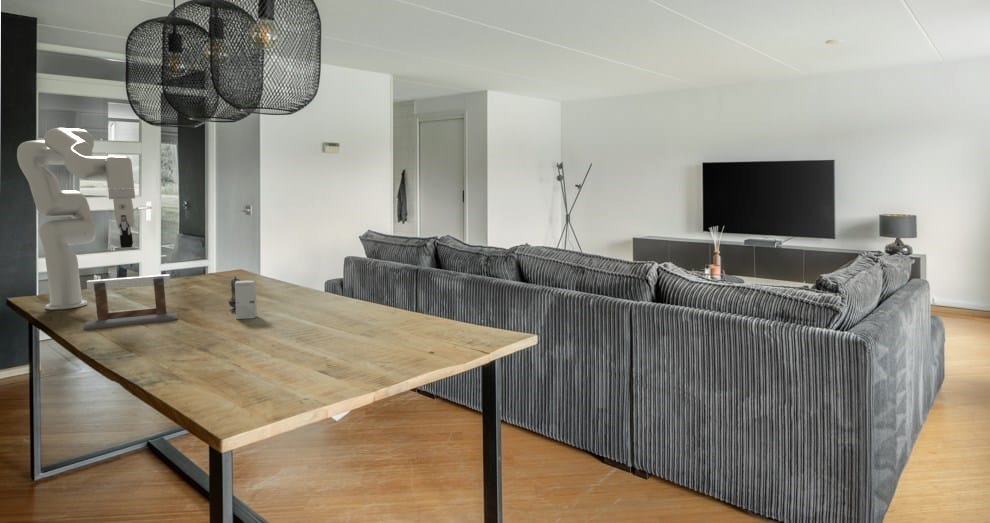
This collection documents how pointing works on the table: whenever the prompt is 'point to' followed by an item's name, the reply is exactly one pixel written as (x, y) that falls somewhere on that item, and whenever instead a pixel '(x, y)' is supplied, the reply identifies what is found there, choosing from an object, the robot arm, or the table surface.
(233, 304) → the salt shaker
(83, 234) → the robot arm
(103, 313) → the rack
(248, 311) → the skincare box
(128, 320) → the mat
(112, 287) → the rail
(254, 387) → the table surface
